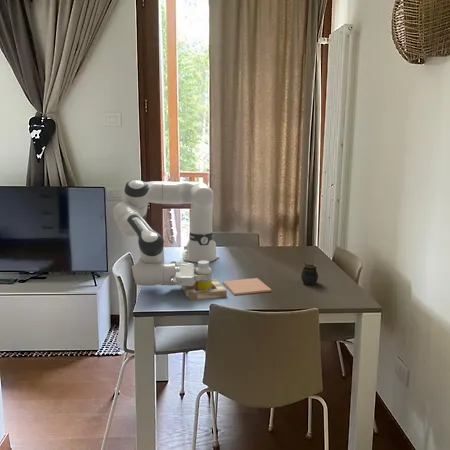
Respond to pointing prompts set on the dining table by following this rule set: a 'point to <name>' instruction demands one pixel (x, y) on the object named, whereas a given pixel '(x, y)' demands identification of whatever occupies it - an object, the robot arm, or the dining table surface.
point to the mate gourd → (309, 274)
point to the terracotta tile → (246, 286)
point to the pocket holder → (205, 291)
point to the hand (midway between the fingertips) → (205, 273)
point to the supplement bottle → (205, 269)
